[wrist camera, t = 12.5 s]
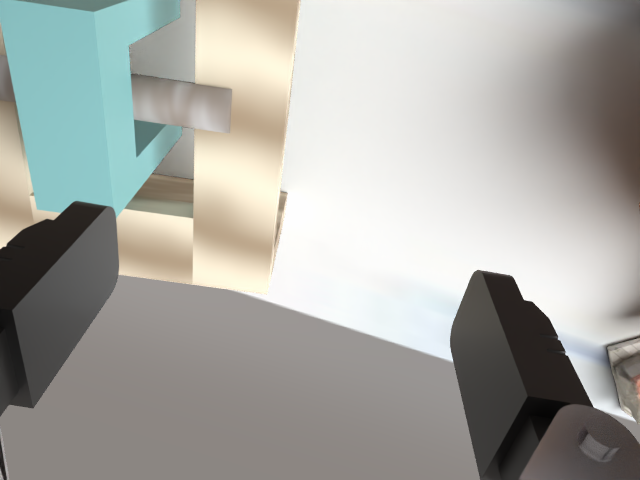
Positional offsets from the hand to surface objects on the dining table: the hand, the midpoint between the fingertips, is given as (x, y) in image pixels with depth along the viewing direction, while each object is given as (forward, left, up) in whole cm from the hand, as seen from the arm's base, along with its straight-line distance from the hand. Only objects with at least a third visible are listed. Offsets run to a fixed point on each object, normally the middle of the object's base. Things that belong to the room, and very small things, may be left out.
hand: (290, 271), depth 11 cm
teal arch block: (+2, -12, -25) cm, 28 cm away
